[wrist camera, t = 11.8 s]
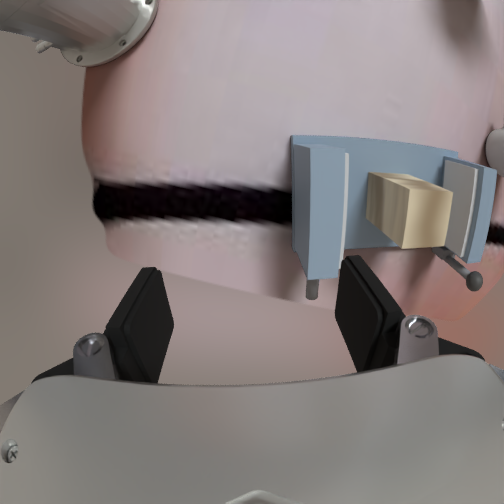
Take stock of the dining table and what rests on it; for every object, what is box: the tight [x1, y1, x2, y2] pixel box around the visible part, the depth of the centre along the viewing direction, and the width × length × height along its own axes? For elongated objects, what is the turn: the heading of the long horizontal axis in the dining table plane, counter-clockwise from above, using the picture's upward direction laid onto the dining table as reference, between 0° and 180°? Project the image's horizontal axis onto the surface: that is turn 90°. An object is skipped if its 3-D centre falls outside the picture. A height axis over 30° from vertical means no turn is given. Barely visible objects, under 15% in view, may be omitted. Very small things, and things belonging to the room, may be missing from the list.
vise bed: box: [291, 135, 497, 291], centre depth 23 cm, size 21×14×10 cm
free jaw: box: [294, 144, 349, 300], centre depth 24 cm, size 3×14×7 cm, turn 3°
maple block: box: [366, 172, 453, 249], centre depth 22 cm, size 5×5×8 cm
